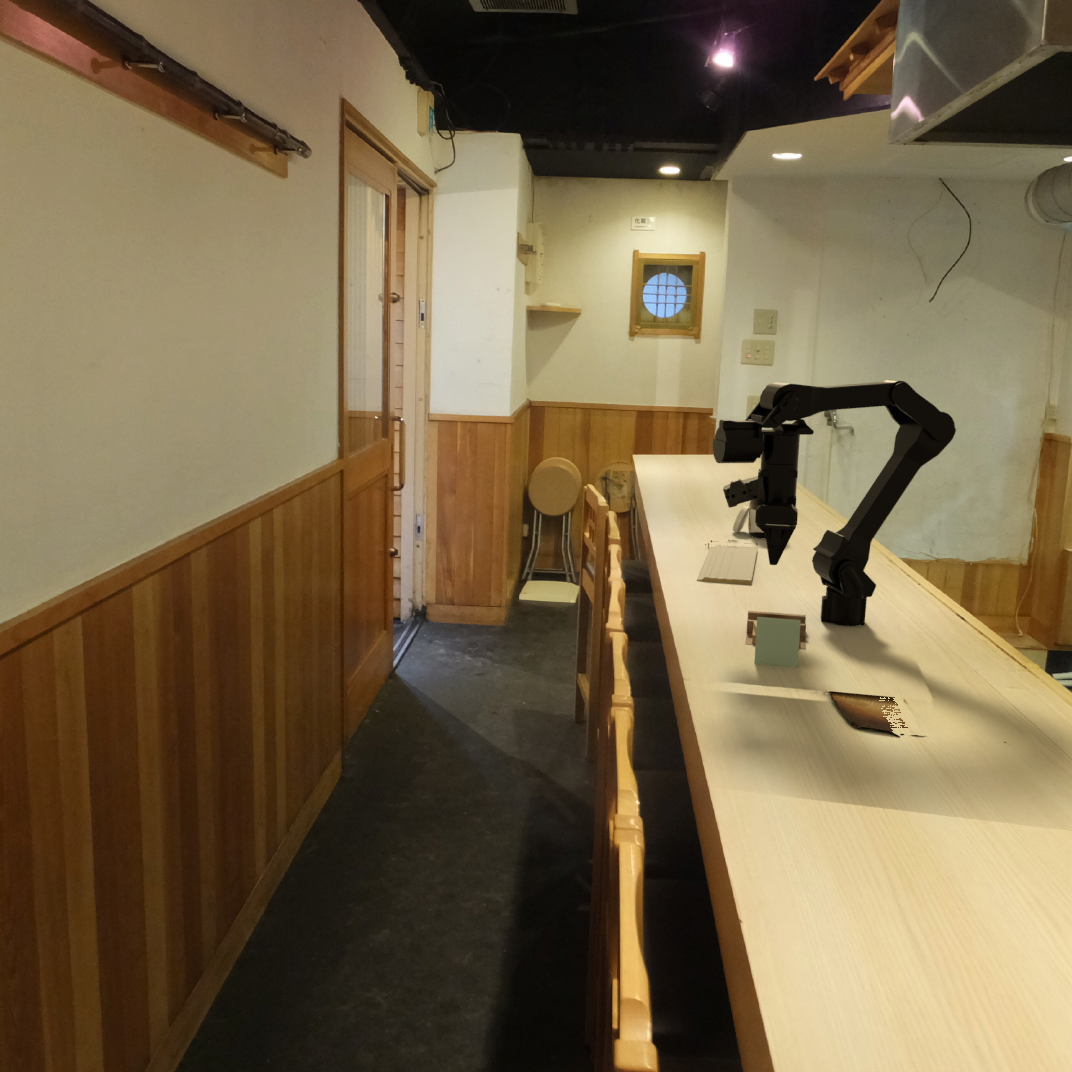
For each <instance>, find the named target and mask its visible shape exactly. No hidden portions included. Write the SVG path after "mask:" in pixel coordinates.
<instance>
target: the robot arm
mask: <svg viewBox="0 0 1072 1072" xmlns="http://www.w3.org/2000/svg"><path fill="white" fill-rule="evenodd" d="M873 407H875V408H876V407H877V408H878V407H885V408H886V410H887V411H888V414H889V416H890V417H891V419H893V421H894V422H895V423H896V424H897V425H898V426H899V428H898V430H897V431H896V434H895V436H894V437H895V439H894V445H893V452H892V454H891V456H890V458H888V460H887V462H886V463H885V465H884V467H883V468H882V470H881V471H880V473H879V474H878V476H877V477H876V478H875V480H874V481H873V484H872V485H871V486H870V488H869V489H868V491H867V492H866V494H865V495H864V497H863V498H862V500H861V502H860V503H859V504H858V505H857V507H856V509H855V510H854V512H853V513H852V515H851V517H850V518H849V520H848V521H847V523H845V525H844V526H843V527H842V528H840V529H838V531H836V532H835V531H832V530H831V529H827V530H825V532H824V534H823V536H822V538H821V540H820V542H819V543H818V544H817V545H816V546H815V547H813V548H812V549H813V551H815V552H814V554H813V556H812V559H811V562H812V566H813V569H814V572H815V573H816V574H817V575H818V576H819V578H820V580H821V584H822V586H825V587H826V588H825V595H823V596H822V595H821V596H822V597H821V605H820V622H822V623H826V624H833V625H836V626H842V627H857V626H863V627H864V626H865V624H866V612H867V602H868V601H867V600H868V599H867V598H870V597H872V596H873V594H874V592H875V590H876V587H877V584H876V583H875V582H874V581H873V579H871V578H870V576H869V575H868V574H867V573H866V572H865V569H866V566H867V564H868V562H869V560H870V559H869V558H870V552H871V545H872V542H873V539H874V538H875V536H876V535H877V534H878V532H879V530H880V529H881V528H882V526H883V525H884V523H885V522H886V520H887V519H888V517H889V515H890V514H891V512H892V511H893V509H894V508H895V506H896V505H897V503H898V502H899V501H900V499H901V497H902V496H903V494H904V492H905V491H906V490H907V488H908V487H909V486H910V484H911V482H912V481H913V480H914V478H915V476H916V475H917V473H918V472H919V470H920V469H921V468H922V467H923V466H924V465H926V464H927V463H929V462H930V461H932V460H933V459H935V458H936V457H938V456H939V455H940V454H941V453H942V452H943V451H944V450H945V448H946V447H947V446H948V445H949V444H950V443H951V442H952V440H953V439H954V437H955V435H956V432H957V428H956V425H955V421H954V418H953V417H952V416H951V415H950V414H949V413H947V412H945V411H940V410H939V409H938V407H937V406H935V405H934V404H933V403H932V402H930V401H929V400H927V399H926V398H925V397H924V396H922V395H921V394H920V393H918V392H917V391H916V390H915V389H914V388H913V387H912V386H911V385H910V384H909V383H908V382H907V381H904V380H897V379H895V380H893V379H885V380H884V381H877V382H864V383H863V382H861V383H850V384H849V383H848V384H836V385H822V386H820V385H819V386H816V385H815V386H813V385H806V384H796V383H790V382H789V383H787V382H780V381H778V382H777V381H776V382H771V383H769V384H766V386H765V388H764V389H763V390H762V392H761V394H760V396H759V401H758V403H757V404H756V405H755V407H754V408H753V410H752V411H750V413H749V414H748V415H747V417H746V418H745V420H730V419H720V420H719V421H718V423H719V424H718V428H716V431H715V434H714V438H713V440H712V452H713V458H714V460H715V462H716V463H717V464H753V463H756V461H757V459H760V468H758V472H757V475H756V476H753V477H749V478H744V479H741V478H738V479H737V480H735V481H733V480H732V481H730V484H726V485H724V486H723V488H722V491H723V493H724V498H725V500H726V503H727V507H728V508H734V507H737V506H738V505H741V504H743V503H746V502H750V500H754V499H756V498H757V501H756V503H758V506H757V507H756V516H755V523H756V526H757V527H759V528H760V529H761V530H762V531H763V532H764V533H765V536H766V539H765V542H766V547H767V548H766V549H767V554H768V561H769V565H771V566H777V565H778V563H779V562H780V559H781V557H782V555H783V553H784V551H785V549H786V548H787V545H788V543H789V541H790V539H791V537H792V536H793V533H794V532H795V530H796V528H797V526H798V517H799V516H798V514H799V513H798V508H797V487H798V485H797V483H798V474H799V471H798V467H799V453H800V441H801V440H800V438H801V436H802V435H804V436H807V435H810V436H811V435H813V434H814V433H815V431H814V429H812V428H811V427H810V426H809V425H808V423H807V422H806V420H805V419H806V418H809V417H813V416H815V415H817V414H820V413H822V412H826V411H837V410H849V409H850V410H851V409H860V408H861V409H863V408H873ZM786 422H791V423H786ZM763 428H764V429H763Z"/></svg>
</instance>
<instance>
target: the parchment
mask: <svg viewBox="0 0 1072 1072" xmlns="http://www.w3.org/2000/svg"><path fill="white" fill-rule="evenodd" d="M828 692H829V695H830V697H831V698H830V699H831V700H832V701H834V702H835V703H836V706H837V707H838V708H839V709H841V712H842V713H843V715H844V716H845V718H846V719H847V720H848V721H850V723H851V724H852V725H853V727H854V728H855V729H859V728H868V729H875V730H879V731H881V730H882V731H887V732H890V733H892V731H893V730H892V729H891V728H897V727H892V726H894V725H890V724H892V723H891V722H888V720H887V719H886V718H887V717H883V716H888V715H890V712H885V713H887V714H884V712H882V711H883V710H887V711H891V712H893V710H892V709H894V708H895V707H892V706H893V705H894V706H895V705H896V706H898V704H897V703H896V702H895V701H893V700H894V699H893V698H895V697H896V696H887V695H886V696H885V695H874V694H865V693H864V694H862V693H852V692H841V691H832V690H829V691H828ZM880 697H881V698H884V697H885V698H886V699H880ZM888 697H889V698H890V699H888ZM879 700H885V701H879ZM888 700H889V701H888ZM895 703H896V704H895ZM884 705H885V707H882V706H884ZM890 705H891V707H890ZM888 706H889V707H888ZM881 708H883V709H881ZM886 708H891V709H886ZM895 710H898V711H900V709H894V711H895ZM888 713H889V714H888ZM894 713H896V715H898V714H897V713H901V712H894ZM894 715H895V714H894ZM894 715H893V716H894ZM891 716H892V714H891ZM890 718H892V717H890ZM889 720H890V719H889ZM894 720H895V719H894ZM896 720H900V721H902V722H898V723H902V724H905V722H903V720H902V719H901V718H899V719H896ZM893 723H895V722H893ZM895 724H897V723H895ZM890 726H891V727H890ZM900 726H902V728H908V727H904V726H905V725H900ZM898 728H899V727H898ZM900 728H901V727H900Z"/></svg>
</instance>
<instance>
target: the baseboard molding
mask: <svg viewBox="0 0 1072 1072" xmlns="http://www.w3.org/2000/svg"><path fill="white" fill-rule="evenodd" d="M727 541H728V543H732V544H734V543H737V542H738V541H739V540H738V539H736V540H735V539H733V540H732V539H731V540H730V539H728V540H727ZM713 542H718V541H715V540H712V539H711V540H710V543H713ZM710 543H709V542H708V543H706V544H705V545H704V546H707V548H708V551H707V554H706V557H705V559H704V561H703V564H702V566H701V568H700V571H699V573H698V575H697V578H696V582H711V583H723V584H724V583H725V584H737V585H752V580H753V575H754V569H755V564H756V560H757V559H756V558H757V553H758V542H756V543H755V545H756V546H744V545H743V546H742V545H740V546H738V545H726V544H725V545H722V544H717V545H714V546H710ZM745 544H747V545H748V544H749V545H750V544H751V543H749V542H748V543H747V542H746V543H745Z"/></svg>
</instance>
